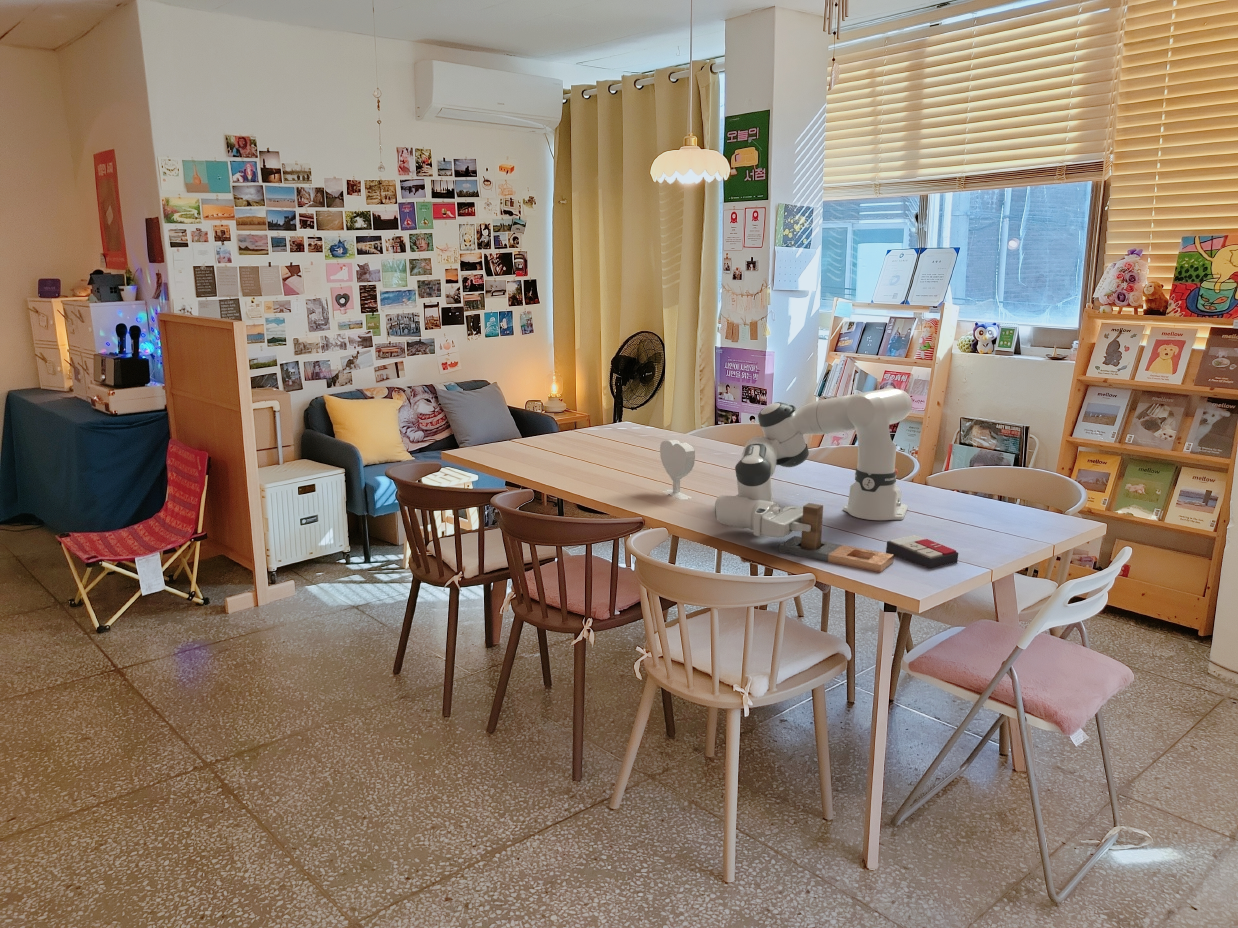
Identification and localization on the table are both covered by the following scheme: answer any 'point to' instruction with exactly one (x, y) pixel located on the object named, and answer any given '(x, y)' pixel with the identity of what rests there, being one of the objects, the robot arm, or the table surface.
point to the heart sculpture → (677, 463)
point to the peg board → (839, 554)
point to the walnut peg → (814, 517)
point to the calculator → (922, 551)
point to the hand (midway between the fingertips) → (815, 525)
